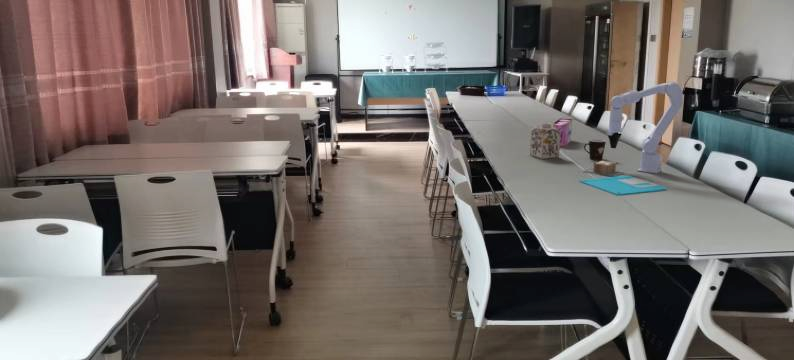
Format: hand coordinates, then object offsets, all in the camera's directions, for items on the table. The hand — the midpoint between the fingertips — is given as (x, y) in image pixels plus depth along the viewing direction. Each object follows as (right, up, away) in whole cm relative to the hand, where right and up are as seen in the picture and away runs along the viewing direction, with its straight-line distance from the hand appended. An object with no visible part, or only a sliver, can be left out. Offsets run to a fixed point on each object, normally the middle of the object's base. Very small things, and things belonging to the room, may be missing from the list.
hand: (613, 148), depth 305 cm
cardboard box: (-3, -9, -2) cm, 9 cm away
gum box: (-7, +7, +72) cm, 72 cm away
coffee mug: (-2, -5, +25) cm, 26 cm away
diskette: (-7, -19, -31) cm, 37 cm away
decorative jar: (-27, -3, +31) cm, 41 cm away
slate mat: (-7, -12, -6) cm, 15 cm away
